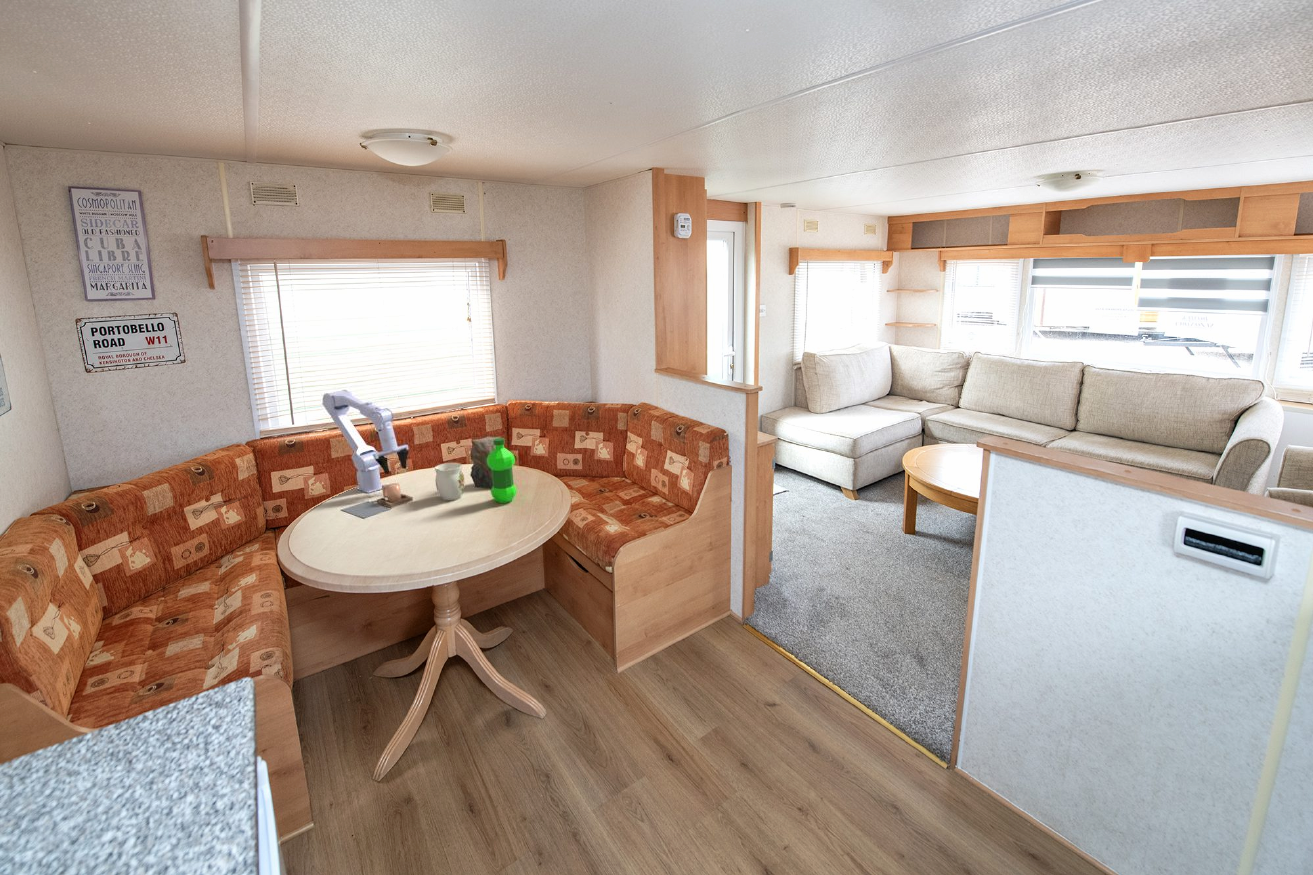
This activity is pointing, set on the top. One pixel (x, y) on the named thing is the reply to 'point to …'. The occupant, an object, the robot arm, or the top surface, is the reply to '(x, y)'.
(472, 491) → the top surface
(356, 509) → the mat
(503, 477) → the plastic bottle
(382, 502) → the holder
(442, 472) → the pitcher
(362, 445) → the robot arm
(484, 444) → the owl
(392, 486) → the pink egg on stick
